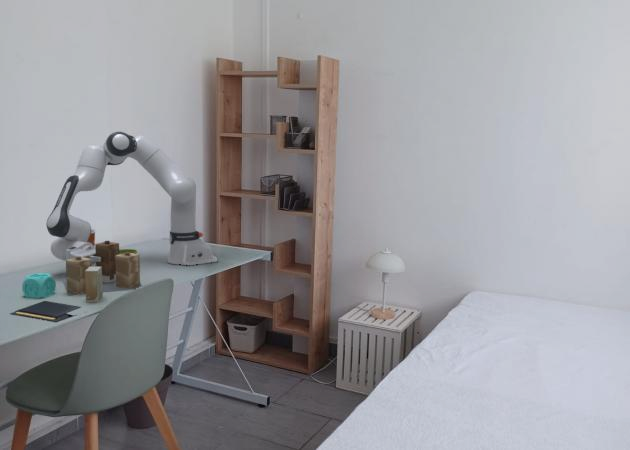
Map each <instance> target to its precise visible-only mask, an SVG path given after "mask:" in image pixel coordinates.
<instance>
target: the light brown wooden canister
mask: <svg viewBox="0 0 630 450" xmlns="http://www.w3.org/2000/svg"><path fill="white" fill-rule="evenodd" d="M89 267H93V263H92V259H89V258H83V257H81V256H77V257H76V258H72V259H68V260H66V261H65V271H66V275H65V276H66V282H67V292H70V293H74V294H79V295H78V296H81V295H80V294H83V293H86V284H85V270H86V269H87V268H89ZM67 292H66V293H67ZM83 295H84V294H83Z"/></svg>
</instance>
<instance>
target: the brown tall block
mask: <svg viewBox="0 0 630 450" xmlns="http://www.w3.org/2000/svg"><path fill="white" fill-rule="evenodd" d="M115 263H116V286H118V287H123V288H127V289H129V288H132V287H135V286H138V285H140V283H141V267H140V263H141V262H140V254H138V253H136V254H133V253H130V252H125V253H123V254H119V255H115Z"/></svg>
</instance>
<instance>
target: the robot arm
mask: <svg viewBox="0 0 630 450" xmlns="http://www.w3.org/2000/svg"><path fill="white" fill-rule="evenodd" d="M128 158H131V159H134V160H135V161H136V162H137V163H138V164H139V165H140V166H142V168H143V169H144V170H145V171H146V172H147V173H149V175H151V177H152V178H154V180H155V181H156V182H157V183H158V184H159V185H160V186H161V188H162V189H163V191H165V192H166V194H168V196H169V197H170V198H171V201H170V202H171V203H170V231H169V244H170V245H169V252H168V253H169V254H168V258H167V263H169V264H172V265H179V264H181V266H186V265H188V266H189V265H190V266H196V264H198V265H203V264H210V263H211V262H212V263H217V262H218V257H216V256H215V255H214V254H213V249H212V248H211V246H210V245H209V244H207V243H206V241H203V240H202V239H201V238H203V236H204V234H203V232H201V231H198V230H196V229H197V228H196V227H197V226H196V225H197V224H196V209H197V205H196V204H197V184H196V182H195V180H194V179H193V178H192V177H191V176H190V175H186V174H184V173H183V172H182V170H181V169H180V168H179V167H178V166H177V165H176V164H175V162H174V161H173V160H172V159H171V158H170V157H169V156H168V155H167V154H166V153H165V152H164V151H163V150H162V149H160V147H159V146H158V145H157V144H155V142H153V141H152V140H151V139H149V138H147V137H146V136H145V135H141V134H140V135H136V136H135V137H134V136H133V135H131V134H129V133H128V134H127V133H125V132H124V131H114V132H112V133H110V135H108V137H107V138H106V139H105V140H104V143H103V144H102V145H96V144H92V145H91V144H90V145H87V146H85V147H84V149H83V150H82V152H81V154H80V156H79V160H78V163H77V166H76V169H75V172H74V173H73V175H70V176H69V177H68V178H67V179H66V181H65V182H64V185H63V186H62V188H61V191H60V193H59V196H58V198H57V200H56V203H55V206H54V207H53V210H52V212H51V213H50V215H49V216H48V218H47V220H46V229H47V231H48V233H49V235H50V236H52V237H57V239H55V240H53V241H52V242H51V244H50V252H51V254H52V255H53V257H55V258H56V259H58V260H61V261H64V262H66V260H68V259H72V258H76V257H77V256H81V257H83V258H89V259H92V262H93V263H96V262H101V261H103V257H101V256H99V257H96V250H95V247H94V246H93V244H91V243H88V241H89V239H90V236H91V228H92V227H91V224H90V222H88V221H86V220H84V219H82V218H79V217H76V216H73V215H71V214H70V211H71V207H72V204H73V202H74V200H75V197H76V196H77V194H78V193H80V192H92V191H95V190H96V189H98V188H99V187H101V185H102V184H103V180H104V176H105V172H106V168H107V166H119V165H121V164H123V163H124V162H125V161H126V159H128ZM212 263H211V264H212ZM190 266H189V267H190Z"/></svg>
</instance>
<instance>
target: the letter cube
mask: <svg viewBox="0 0 630 450" xmlns="http://www.w3.org/2000/svg"><path fill="white" fill-rule="evenodd" d="M113 281H116V274H115V275H111V276H103V275H102V282H106V283H110V282H113Z"/></svg>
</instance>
